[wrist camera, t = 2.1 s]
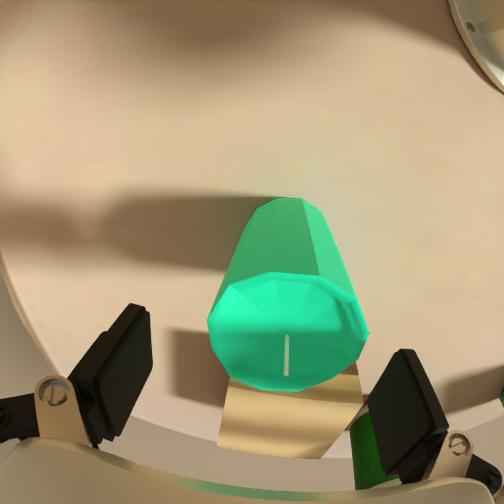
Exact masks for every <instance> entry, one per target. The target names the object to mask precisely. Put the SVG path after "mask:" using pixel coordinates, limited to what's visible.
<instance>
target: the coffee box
mask: <svg viewBox="0 0 504 504" xmlns="http://www.w3.org/2000/svg"><path fill="white" fill-rule="evenodd" d="M500 401H501V403H502V405H503V407H504V390H503V391H502V394H501V397H500Z"/></svg>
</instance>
